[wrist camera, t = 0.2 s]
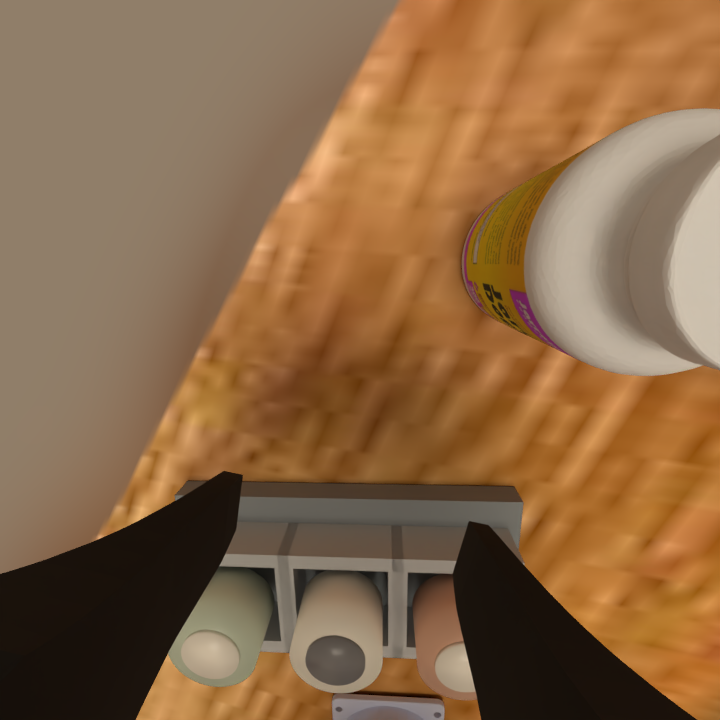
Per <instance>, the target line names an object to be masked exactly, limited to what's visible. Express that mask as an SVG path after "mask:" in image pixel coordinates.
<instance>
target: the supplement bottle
mask: <svg viewBox="0 0 720 720" xmlns="http://www.w3.org/2000/svg"><path fill="white" fill-rule="evenodd" d="M462 275H463V279H464V283H465V286H466V289H467V291H468V293H469V295H470V297H471V298H472V300H473V301H474V302H475V304H476V305H477V306H478V307H479V308H480V309H481V310H482V311H483V312H485V313H486V314H487V315H489V316H490V317H492V318H494V319H495V320H497V321H499V322H501V323H503V324H505V325H507V326H509V327H511V328H513V329H515V330H517V331H519V332H521V333H523V334H525V335H528V336H530V337H532V338H534V339H536V340H538V341H541V342H543V343H545V344H547V345H549V346H551V347H553V348H555V349H557V350H559V351H561V352H563V353H565V354H568V355H570V356H572V357H574V358H576V359H578V360H580V361H582V362H585V363H587V364H589V365H591V366H594V367H597V368H600V369H603V370H606V371H610V372H613V373H619V374H626V375H635V376H654V375H665V374H672V373H676V372H681V371H685V370H690V369H694V368H697V367H699V366H702V365H704V366H707V367H711V368H714V369H718V370H720V109H687V110H678V111H672V112H667V113H663V114H659V115H655V116H652V117H648V118H645V119H642V120H640V121H638V122H635V123H633V124H631V125H628V126H626V127H624V128H622V129H620V130H618V131H616V132H614V133H612V134H611V135H609V136H607V137H605V138H603V139H602V140H600V141H598V142H596V143H595V144H593V145H591V146H589V147H588V148H586V149H584V150H583V151H581V152H579V153H577V154H575V155H573V156H572V157H570V158H568V159H566V160H565V161H563V162H561V163H559V164H558V165H556V166H554V167H552V168H550V169H549V170H547V171H545V172H543V173H541V174H539V175H538V176H536V177H534V178H532V179H530V180H529V181H527V182H525V183H523V184H521V185H520V186H518V187H516V188H514V189H513V190H511V191H509V192H507V193H506V194H504V195H502V196H501V197H499V198H498V199H496V200H495V201H494V202H492V203H491V204H490V205H489V206H488V207H487V208H486V209H485V210H484V211H483V212H482V213H481V214H480V215H479V217H478V218H477V219H476V221H475V222H474V224H473V225H472V227H471V229H470V231H469V233H468V235H467V238H466V241H465V244H464V248H463V254H462Z"/></svg>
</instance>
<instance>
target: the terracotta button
mask: <svg viewBox="0 0 720 720" xmlns="http://www.w3.org/2000/svg"><path fill="white" fill-rule="evenodd" d="M412 610H413V621H414V633H415V644H416V656H417V667H418V672H419V674H420V677H421V678H422V680H423V681H424V682H425V684H426V685H427V686H428V687H429V688H431V689H432V690H433V691H435V692H437V693H438V694H440V695H443V696H445V697H448V698H452V699H457V700H476V699H477V695H476V691H475V687H474V683H473V678H472V674H471V670H470V666H469V662H468V657H467V653H466V649H465V645H464V640H463V636H462V632H461V627H460V623H459V619H458V614H457V610H456V602H455V594H454V585H453V575H452V574H439V575H436V576H433V577H431V578H429V579H428V580H426V581H425V582H424V583H422V584H421V585H420V587H419V588H418V589H417V591H416V592H415V594H414V597H413V601H412Z"/></svg>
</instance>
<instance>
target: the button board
mask: <svg viewBox="0 0 720 720" xmlns="http://www.w3.org/2000/svg"><path fill="white" fill-rule="evenodd" d="M205 482H207V481H187V482H186V483H185V484H184V486H183V487H182V488H181V489H180V490H179V491H178V492H177V493H176V494H175V500H177V499H179V498H181V497H182V496H184V495H186V494H188V493H189V492H191V491H192V490H194V489H196V488H197V487H199V486H201V485H202V484H204V483H205ZM522 511H523V501H522V499H521V498H520V496H519V494H518V492H517V491H516V489H515V487H512V486H454V485H397V484H340V483H283V482H242V486H241V495H240V503H239V511H238V520H237V528H236V531H235V534H234V536H233V538H232V540H231V543H230V545H229V547H228V549H227V552H226V554H225V556H224V558H223V560H222V562H221V564H220V565H219V567H220V566H229V567H245V568H248V569H250V570H252V571H254V572H256V573H257V574H259V575H260V576H261V577H263V578H264V579H265V580H266V581H267V583H268V584H269V585H270V587H271V589H272V591H273V594H274V599H275V604H274V609H273V612H272V615H271V618H270V622H269V625H268V628H267V631H266V634H265V637H264V640H263V644H262V647H261V650H260V651H262V652H283V653H290V646H291V642H292V638H293V634H294V630H295V626H296V622H297V618H298V614H299V609H300V605H301V601H302V597H303V593H304V590H305V587H306V585H307V584H308V582H309V581H310V580H311V579H312V578H313V577H315V576H316V575H318V574H319V573H321V572H324V571H327V570H351V571H356V572H358V573H361V574H363V575H365V576H366V577H368V578H369V579H370V580H371V581H372V582H373V583H374V584H375V585H376V586H377V587H378V589H379V591H380V593H381V596H382V602H383V657H388V658H409V659H417V656H416V644H415V633H414V621H413V610H412V601H413V597H414V594H415V592H416V591H417V589H418V588H419V587H420V585H421V584H422V583H424V582H425V581H426V580H428V579H429V578H431V577H433V576H436V575H439V574H453V570H454V567H455V564H456V561H457V558H458V554H459V551H460V548H461V545H462V541H463V538H464V535H465V532H466V529H467V525H468V522H469V521H472V522H477V523H481V524H486V525H489V526H490V527H491V528H492V529H493V530H494V531H495V533H496V534H497V535H498V536H499V537H500V538H501V539H502V541H503V542H504V543H505V544H506V545H507V546H508V547H509V549H510V550H511V551H512V552H513V553H514V554H515V555H516V557H517V558H518V559H519V560H520V561H521V562H522V563H523V565H524V561H523V559H522V557H521V555H520V552H519V550H518V549H519V539H520V530H521V520H522Z"/></svg>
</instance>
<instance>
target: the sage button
mask: <svg viewBox="0 0 720 720" xmlns="http://www.w3.org/2000/svg"><path fill="white" fill-rule="evenodd" d="M274 604H275V599H274V594H273V591H272V589H271V587H270V585H269V584H268V583H267V581H266V580H265V579H264V578H263V577H261V576H260V575H259V574H257V573H256V572H254V571H252V570H250V569H248V568H245V567H229V566H220V567H218V569H217V571H216V572H215V574H214V576H213V577H212V579H211V581H210V582H209V584H208V586H207V587H206V589H205V591H204V592H203V594H202V596H201V597H200V599H199V601H198V602H197V604H196V606H195V607H194V609H193V611H192V612H191V614H190V616H189V617H188V619H187V621H186V622H185V624H184V626H183V627H182V629H181V631H180V632H179V634H178V636H177V638H176V639H175V641H174V643H173V645H172V647H171V648H170V650H169V652H168V654H169V657H170V659H171V661H172V662H173V664H174V665H175V667H176V668H177V669H178V670H179V671H180V672H181V673H183V674H184V675H185V676H187V677H188V678H190V679H192V680H193V681H196V682H198V683H201V684H204V685H208V686H214V687H226V686H232V685H235V684H238V683H240V682H242V681H244V680H245V679H247V678H248V677H249V676H250V675H251V673H252V672H253V670H254V668H255V665H256V662H257V659H258V656H259V653H260V650H261V647H262V644H263V640H264V637H265V634H266V631H267V628H268V625H269V622H270V618H271V615H272V612H273V609H274Z"/></svg>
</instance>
